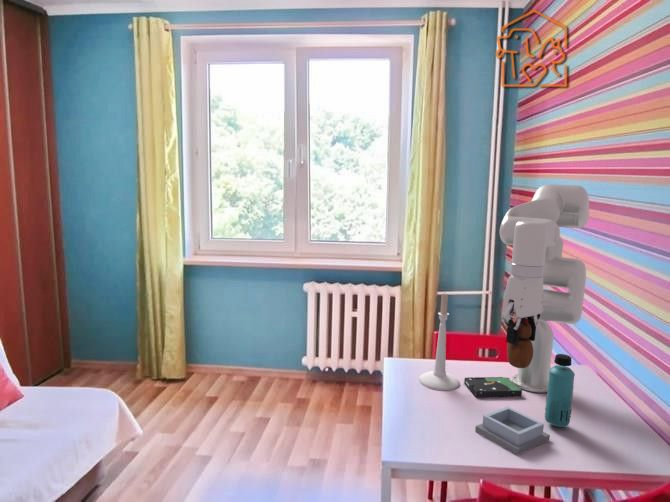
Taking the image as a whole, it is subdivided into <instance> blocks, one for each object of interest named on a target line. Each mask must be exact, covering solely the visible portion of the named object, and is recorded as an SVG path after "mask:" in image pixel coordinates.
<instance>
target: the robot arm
mask: <svg viewBox="0 0 670 502" xmlns="http://www.w3.org/2000/svg"><path fill="white" fill-rule="evenodd" d="M589 198H590V197H589V194H588V191H587V190H586V188H585V187H583V186H581V185H578V184H577V185H576V184H554V183H552V184H551V183H550V184H549V183H548V184H545V185H541V186H540V187H539V188H537V189H536V190H535V193H534V195H533V197H532V199H531V201H527V202H524V203H521V204H518V205H516V206H513V207H512V208H510V209H508V211H507V212H506V213H505V215H504V217H503V219H502V221H501V223H500V226H499V237H500V241H502V242H503V244H505V245H509V246H512V251H511V252H512V253H511V263H510V265H511V266H510V276H508V278H507V280H506V281H507V283H506V286H505V290H504V297H503V303H502V313H501V316H500V317H501V319H502V320H503V323H504V324H505V327H506V338H505V342H506V343H507V344H508V343H510V344H513V345H518V343H519V332H520V330H518V327H519V324H520V321H521V318H526V319H528V324H530V326H531V329H532V333H531V336H530V337H529V339H530V341H531V342H532V345H533V358H532V361H531V363H530V364H529V366H528V367H526V368H517V374H514V375H513V376H512V378H511V381H512V382H513V383H515V384H516V385H517V386H518V387H519V388H520V389H521V390H525V391H528V392H531V393H541V394H542V393H547V391H548V381H549V370H550V368H551V364H552V356H553V355H552V354H553V346H554V331H553V329H552V327H551V326H550V324H549V323H548V322H555V323H560V324H567V325H576V324H578V323H579V322H580V320H581V318H582V314H583V306H584V298H585V291H586V289H585V288H586V282H587V281H586V279H587V268H586V265H585V262H583V261H582V260H581V259H578V258H572V257H571V258H570V257H563V249H564V241H563V238H562V237H561V230H560V228H567V229H568V228H569V229H583V228H584V227H585V226H586V225H587V224H588V221H589V217H590V199H589ZM544 286H546V287H553V288H560V289H561V288H562V289H565V290H567V291H568V292H566V291H559V290H553V289H545V288H544ZM514 320H515V322H514Z"/></svg>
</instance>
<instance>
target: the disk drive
mask: <svg viewBox="0 0 670 502" xmlns="http://www.w3.org/2000/svg"><path fill="white" fill-rule="evenodd" d="M463 382H464V383H463V384H464V386H465V387H466V388H467V389H468V390H469V392H470V393H471V394H472V395H473V397H474V398H475V399H478V398H479V399H484V398H487V399H488V398H489V399H491V398H492V399H493V398H522V395H523V389H521V388H519V387H518V386H517V385H516V384H515V383H513V382H512V379H510V378H509V377H506V376H505V377H503V376H498V377H496V376H493V377H492V376H490V377H489V376H488V377H487V376H486V377H483V376H482V377H481V376H480V377H479V376H478V377H476V376H475V377H473V376H472V377H471V376H470V377H468V376H467V377H464V381H463Z"/></svg>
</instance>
